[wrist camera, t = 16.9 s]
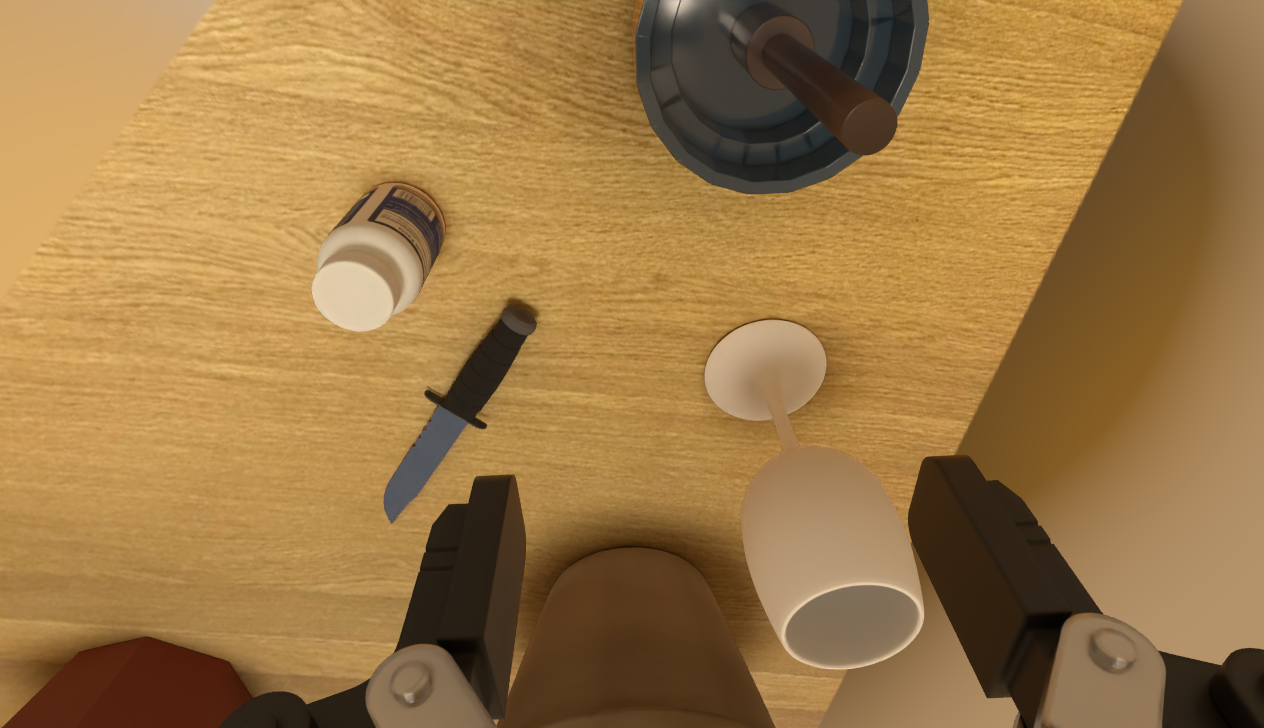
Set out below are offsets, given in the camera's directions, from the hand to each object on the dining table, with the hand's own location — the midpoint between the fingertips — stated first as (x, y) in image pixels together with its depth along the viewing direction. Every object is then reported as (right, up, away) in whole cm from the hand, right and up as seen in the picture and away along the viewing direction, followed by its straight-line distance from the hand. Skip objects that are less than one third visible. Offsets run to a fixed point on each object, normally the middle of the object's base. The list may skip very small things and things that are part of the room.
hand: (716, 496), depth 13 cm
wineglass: (+8, +2, +35) cm, 36 cm away
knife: (-16, -2, +37) cm, 40 cm away
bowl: (+5, +20, +23) cm, 31 cm away
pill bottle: (-16, +11, +28) cm, 34 cm away
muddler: (+5, +20, +22) cm, 30 cm away
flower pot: (-2, -19, +49) cm, 53 cm away
